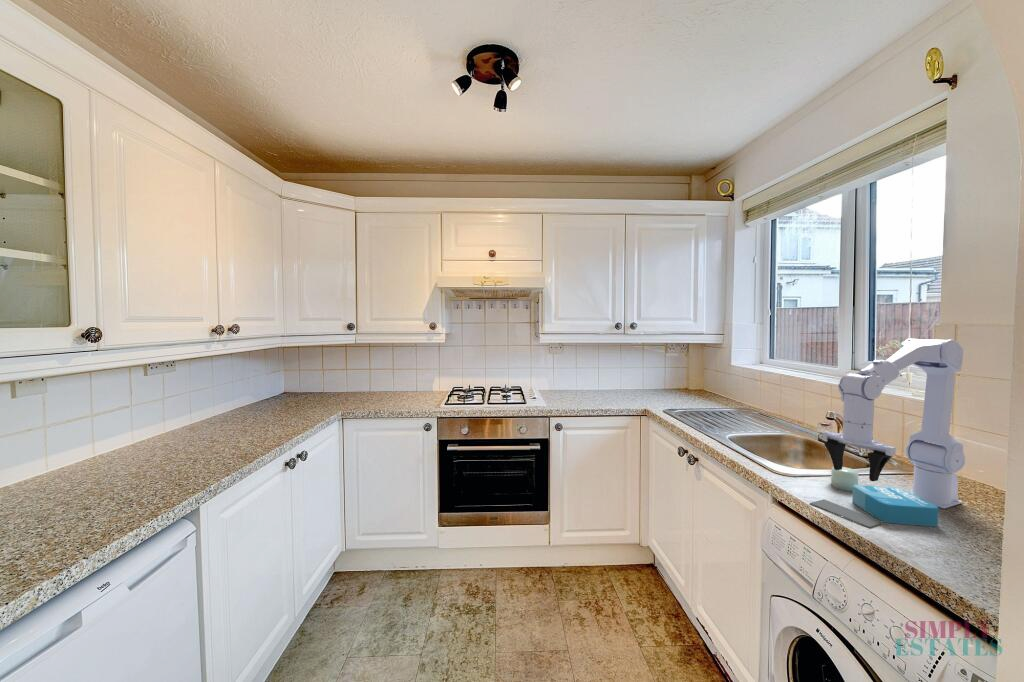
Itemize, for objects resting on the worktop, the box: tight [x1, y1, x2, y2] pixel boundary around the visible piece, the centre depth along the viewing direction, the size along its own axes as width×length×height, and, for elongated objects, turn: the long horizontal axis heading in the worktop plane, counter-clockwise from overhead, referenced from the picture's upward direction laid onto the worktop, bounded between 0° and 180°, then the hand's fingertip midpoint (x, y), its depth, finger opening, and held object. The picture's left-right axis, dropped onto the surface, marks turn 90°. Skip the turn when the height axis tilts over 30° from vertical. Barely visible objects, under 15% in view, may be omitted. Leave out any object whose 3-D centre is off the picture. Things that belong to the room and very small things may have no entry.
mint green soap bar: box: [830, 466, 859, 492], centre depth 114 cm, size 6×6×5 cm
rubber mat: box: [809, 498, 885, 529], centre depth 98 cm, size 6×13×1 cm, turn 22°
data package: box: [851, 484, 940, 528], centre depth 98 cm, size 12×4×12 cm
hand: (855, 474), depth 99 cm, fingers open, 7 cm apart
